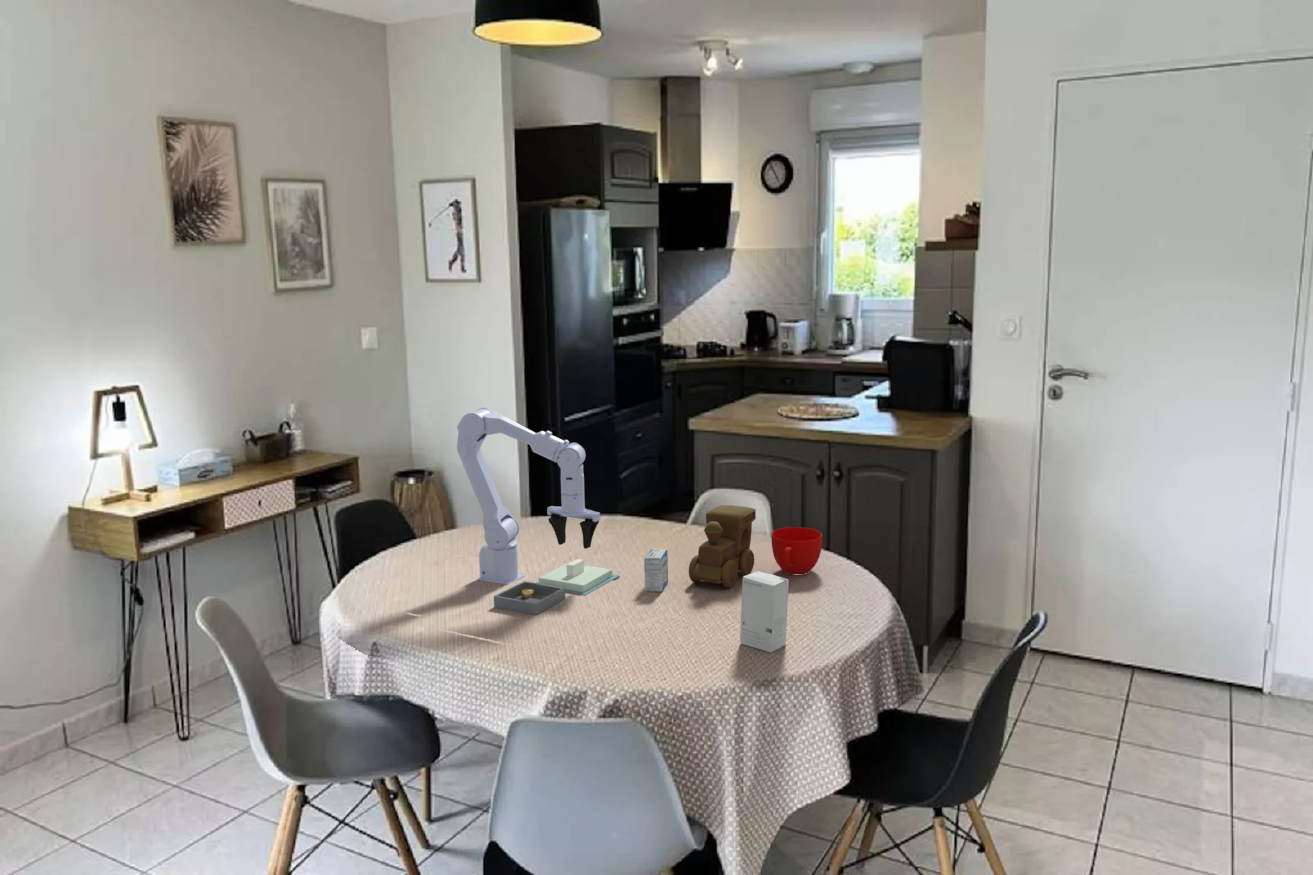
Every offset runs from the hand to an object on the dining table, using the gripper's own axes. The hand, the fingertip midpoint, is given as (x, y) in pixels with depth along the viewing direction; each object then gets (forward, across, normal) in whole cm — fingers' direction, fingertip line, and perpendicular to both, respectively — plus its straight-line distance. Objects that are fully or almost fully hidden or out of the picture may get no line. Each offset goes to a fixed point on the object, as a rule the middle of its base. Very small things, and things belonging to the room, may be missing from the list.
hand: (574, 545), depth 243 cm
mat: (+10, 0, 0) cm, 10 cm away
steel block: (+9, +2, -20) cm, 22 cm away
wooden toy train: (+10, +32, +19) cm, 39 cm away
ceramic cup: (+10, +47, +30) cm, 57 cm away
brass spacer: (+9, -3, -16) cm, 18 cm away
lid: (+8, 0, 0) cm, 8 cm away
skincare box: (+10, +58, -16) cm, 61 cm away
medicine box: (+10, +20, +6) cm, 23 cm away
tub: (+10, -1, -18) cm, 20 cm away
